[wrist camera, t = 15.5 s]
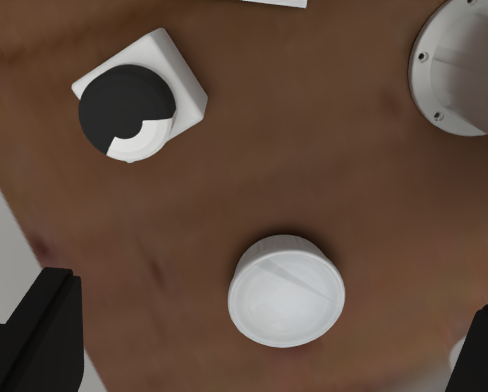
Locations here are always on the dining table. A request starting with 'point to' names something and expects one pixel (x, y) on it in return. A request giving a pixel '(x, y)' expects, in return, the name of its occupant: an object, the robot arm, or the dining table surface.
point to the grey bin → (284, 2)
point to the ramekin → (285, 292)
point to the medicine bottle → (139, 99)
